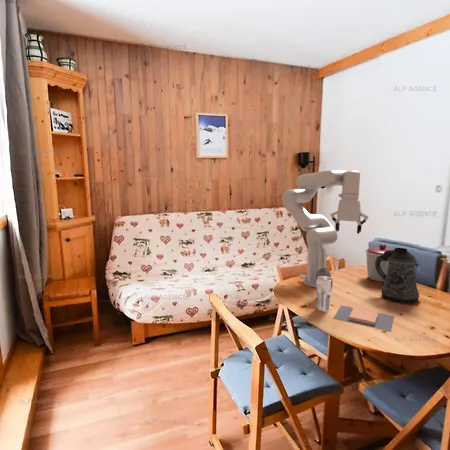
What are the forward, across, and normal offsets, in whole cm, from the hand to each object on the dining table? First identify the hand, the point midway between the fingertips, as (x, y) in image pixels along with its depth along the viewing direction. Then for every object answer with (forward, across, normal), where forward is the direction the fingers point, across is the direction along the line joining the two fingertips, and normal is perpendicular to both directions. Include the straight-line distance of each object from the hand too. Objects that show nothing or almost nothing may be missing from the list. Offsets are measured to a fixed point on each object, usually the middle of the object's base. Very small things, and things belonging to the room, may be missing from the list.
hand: (347, 232), depth 156 cm
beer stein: (+33, +22, +11) cm, 41 cm away
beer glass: (+33, -4, -22) cm, 40 cm away
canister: (+33, +12, +38) cm, 52 cm away
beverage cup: (+33, -8, -9) cm, 35 cm away
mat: (+33, +13, -21) cm, 41 cm away
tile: (+31, +13, -17) cm, 38 cm away
